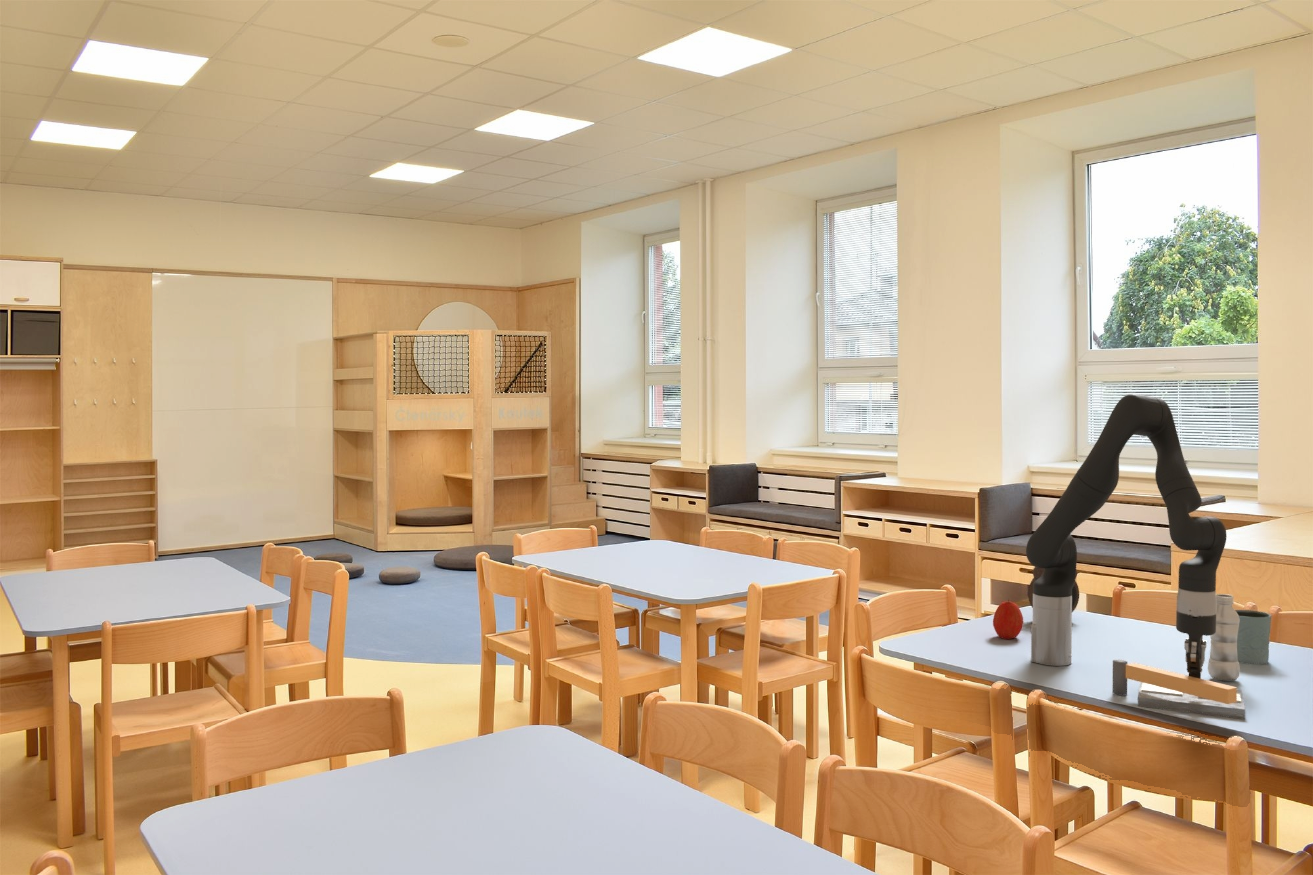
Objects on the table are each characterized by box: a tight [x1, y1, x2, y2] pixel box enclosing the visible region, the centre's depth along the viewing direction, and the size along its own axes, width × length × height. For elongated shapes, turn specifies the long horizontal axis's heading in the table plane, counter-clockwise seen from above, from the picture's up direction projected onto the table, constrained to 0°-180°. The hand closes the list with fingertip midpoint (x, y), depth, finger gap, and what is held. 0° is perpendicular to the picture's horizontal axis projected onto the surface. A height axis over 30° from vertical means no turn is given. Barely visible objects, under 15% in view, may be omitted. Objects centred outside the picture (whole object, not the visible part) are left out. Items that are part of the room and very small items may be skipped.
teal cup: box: [1235, 609, 1272, 665], centre depth 258 cm, size 10×10×12 cm
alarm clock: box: [1027, 566, 1080, 613], centre depth 305 cm, size 14×7×20 cm, turn 105°
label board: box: [1137, 682, 1246, 720], centre depth 221 cm, size 20×16×2 cm
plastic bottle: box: [1207, 593, 1241, 682], centre depth 239 cm, size 6×7×20 cm
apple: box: [992, 599, 1024, 640], centre depth 284 cm, size 8×8×11 cm
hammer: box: [1112, 659, 1238, 704], centre depth 217 cm, size 27×3×7 cm, turn 30°
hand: (1194, 689), depth 217 cm, fingers closed
